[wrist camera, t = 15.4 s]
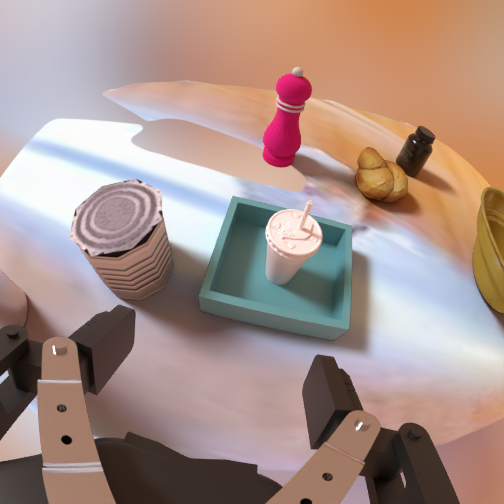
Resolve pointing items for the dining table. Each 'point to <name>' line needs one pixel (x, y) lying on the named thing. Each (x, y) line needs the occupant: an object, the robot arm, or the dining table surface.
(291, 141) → the pepper mill
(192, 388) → the dining table surface
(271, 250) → the smoothie
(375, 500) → the robot arm
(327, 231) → the tote
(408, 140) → the supplement bottle
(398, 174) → the bread roll
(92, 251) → the can
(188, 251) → the dining table surface
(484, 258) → the planter bowl
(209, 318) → the dining table surface
